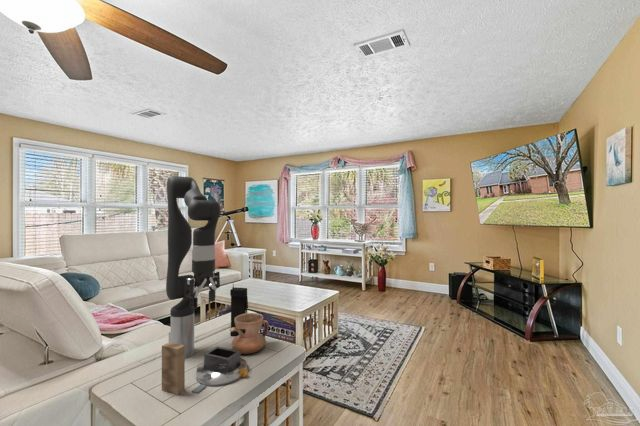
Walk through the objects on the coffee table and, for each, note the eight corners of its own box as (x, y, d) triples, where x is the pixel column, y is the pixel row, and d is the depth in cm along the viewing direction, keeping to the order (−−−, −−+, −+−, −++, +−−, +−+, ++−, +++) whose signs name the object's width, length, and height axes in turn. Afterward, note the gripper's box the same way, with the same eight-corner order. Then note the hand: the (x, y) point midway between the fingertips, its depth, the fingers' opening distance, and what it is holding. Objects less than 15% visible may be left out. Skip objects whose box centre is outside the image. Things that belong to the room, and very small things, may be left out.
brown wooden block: (161, 390, 100) (161, 345, 100) (169, 385, 103) (169, 342, 103) (177, 395, 98) (177, 349, 98) (184, 390, 101) (184, 345, 101)
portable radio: (250, 332, 149) (250, 282, 149) (244, 337, 143) (244, 285, 143) (235, 331, 151) (235, 281, 151) (229, 336, 145) (229, 284, 145)
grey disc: (184, 379, 106) (185, 359, 106) (219, 357, 123) (219, 339, 123) (229, 391, 99) (229, 369, 99) (259, 366, 116) (259, 347, 116)
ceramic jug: (236, 362, 120) (236, 326, 120) (224, 349, 131) (224, 316, 131) (276, 349, 130) (276, 317, 131) (261, 338, 142) (261, 308, 142)
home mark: (192, 392, 99) (192, 390, 99) (201, 385, 103) (201, 384, 103) (197, 393, 98) (197, 392, 98) (206, 387, 102) (206, 385, 102)
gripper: (209, 254, 111) (208, 298, 111) (179, 260, 98) (178, 309, 98) (226, 255, 109) (225, 300, 109) (197, 262, 95) (196, 312, 95)
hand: (203, 304), depth 103 cm, fingers open, 8 cm apart
